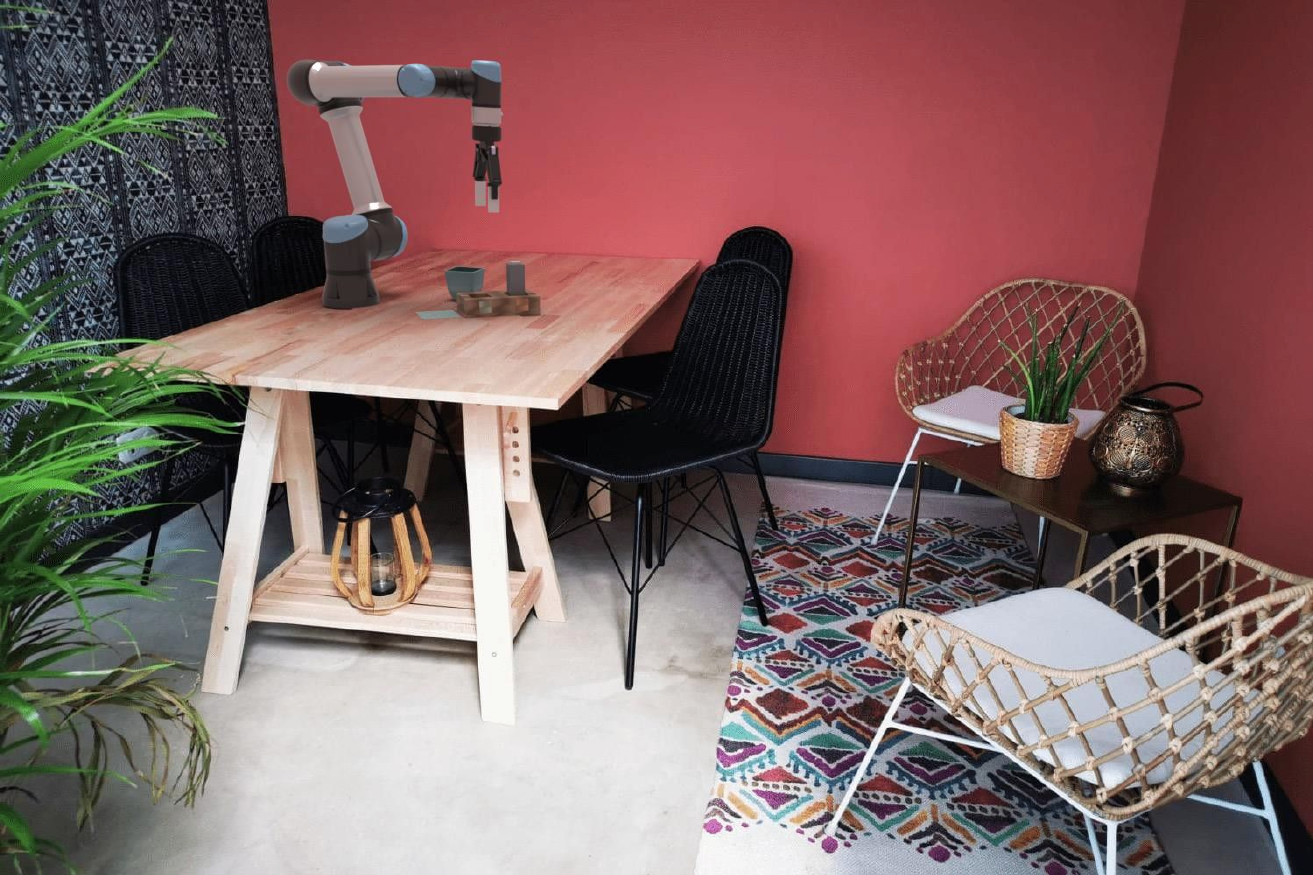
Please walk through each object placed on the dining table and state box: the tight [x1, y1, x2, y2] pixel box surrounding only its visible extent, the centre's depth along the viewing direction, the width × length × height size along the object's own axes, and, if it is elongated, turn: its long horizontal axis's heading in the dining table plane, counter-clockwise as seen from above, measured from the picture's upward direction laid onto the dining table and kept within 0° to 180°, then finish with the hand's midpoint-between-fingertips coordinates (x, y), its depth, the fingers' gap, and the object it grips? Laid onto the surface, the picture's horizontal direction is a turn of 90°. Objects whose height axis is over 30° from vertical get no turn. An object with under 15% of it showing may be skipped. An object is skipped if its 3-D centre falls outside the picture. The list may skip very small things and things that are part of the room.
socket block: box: [455, 288, 542, 319], centre depth 252 cm, size 20×11×5 cm, turn 114°
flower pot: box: [444, 265, 486, 301], centre depth 267 cm, size 9×9×9 cm
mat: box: [415, 309, 462, 321], centre depth 247 cm, size 10×10×1 cm
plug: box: [505, 260, 526, 296], centre depth 252 cm, size 4×4×13 cm
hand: (486, 209), depth 250 cm, fingers open, 13 cm apart
